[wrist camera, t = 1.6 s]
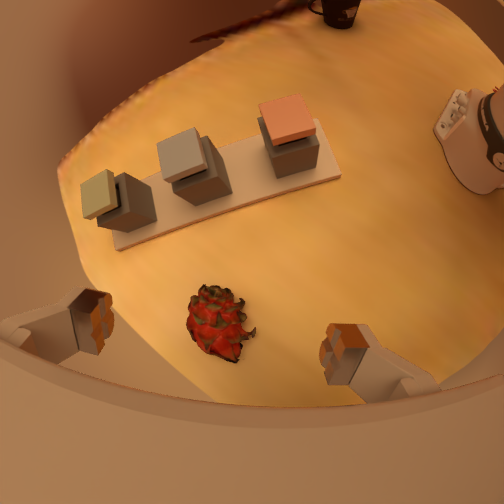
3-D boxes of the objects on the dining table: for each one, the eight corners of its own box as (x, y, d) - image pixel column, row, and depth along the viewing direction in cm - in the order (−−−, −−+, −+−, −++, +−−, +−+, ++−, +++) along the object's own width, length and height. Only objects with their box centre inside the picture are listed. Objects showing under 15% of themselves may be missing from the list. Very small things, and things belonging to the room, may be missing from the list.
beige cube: (206, 143, 33) (194, 127, 29) (215, 176, 33) (203, 163, 28) (172, 157, 34) (156, 143, 29) (179, 190, 33) (162, 179, 29)
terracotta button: (300, 113, 32) (300, 93, 27) (314, 145, 31) (316, 127, 27) (263, 123, 32) (258, 104, 28) (275, 156, 32) (271, 139, 27)
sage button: (125, 178, 35) (106, 169, 30) (130, 210, 35) (110, 203, 30) (99, 192, 36) (80, 184, 31) (103, 222, 35) (83, 218, 31)
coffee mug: (351, 12, 40) (355, -19, 30) (362, 33, 39) (369, 0, 29) (301, 11, 42) (299, -21, 32) (309, 31, 41) (308, -3, 31)
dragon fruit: (218, 274, 42) (245, 343, 43) (168, 294, 38) (198, 366, 39) (242, 271, 35) (272, 353, 35) (181, 296, 31) (218, 383, 31)
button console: (317, 122, 40) (320, 88, 30) (340, 177, 39) (351, 152, 29) (111, 198, 45) (78, 185, 35) (120, 250, 44) (84, 246, 34)
